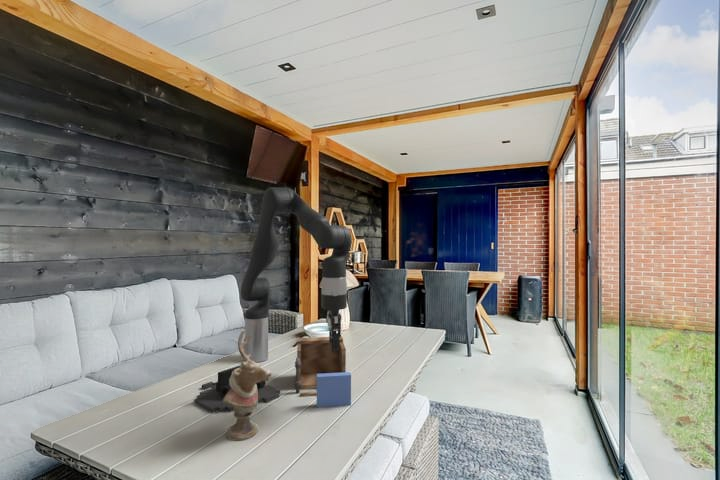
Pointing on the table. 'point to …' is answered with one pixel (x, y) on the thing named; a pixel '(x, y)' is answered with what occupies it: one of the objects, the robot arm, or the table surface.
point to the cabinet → (317, 362)
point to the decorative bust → (244, 393)
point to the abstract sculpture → (218, 391)
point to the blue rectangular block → (333, 389)
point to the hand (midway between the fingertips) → (334, 346)
